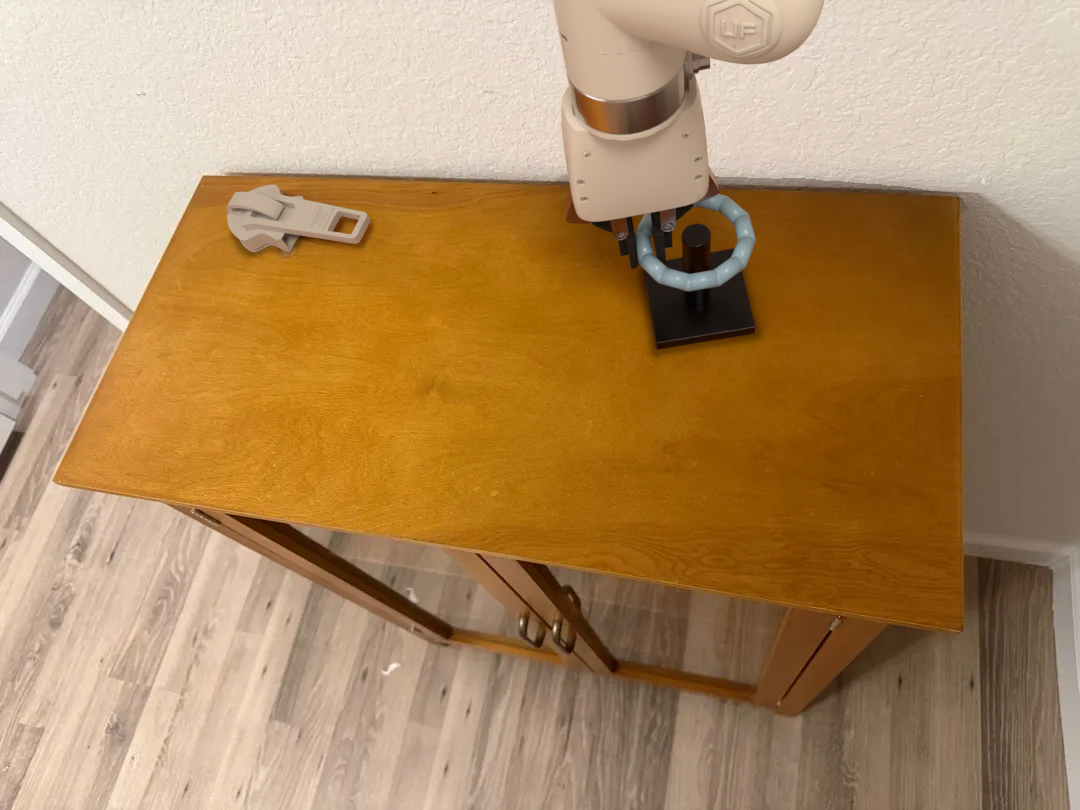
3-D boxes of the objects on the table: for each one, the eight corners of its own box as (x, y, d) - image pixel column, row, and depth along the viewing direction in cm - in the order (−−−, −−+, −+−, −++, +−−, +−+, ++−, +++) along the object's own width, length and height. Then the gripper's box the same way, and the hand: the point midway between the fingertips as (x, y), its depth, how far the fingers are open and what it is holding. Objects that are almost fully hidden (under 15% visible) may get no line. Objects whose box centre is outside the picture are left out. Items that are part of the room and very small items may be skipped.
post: (736, 254, 75) (740, 183, 66) (754, 333, 71) (762, 269, 62) (643, 271, 76) (635, 203, 67) (656, 349, 72) (649, 288, 63)
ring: (740, 189, 67) (741, 178, 66) (764, 282, 63) (766, 272, 61) (628, 209, 68) (627, 199, 67) (644, 302, 64) (643, 293, 63)
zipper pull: (358, 273, 83) (341, 249, 79) (224, 246, 88) (202, 222, 84) (387, 215, 86) (372, 189, 82) (255, 192, 91) (236, 167, 87)
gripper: (740, 15, 50) (730, 201, 67) (505, 66, 52) (552, 234, 69) (764, 97, 47) (748, 272, 63) (512, 148, 49) (559, 304, 65)
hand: (645, 251), depth 66 cm, fingers closed on ring, 1 cm apart
